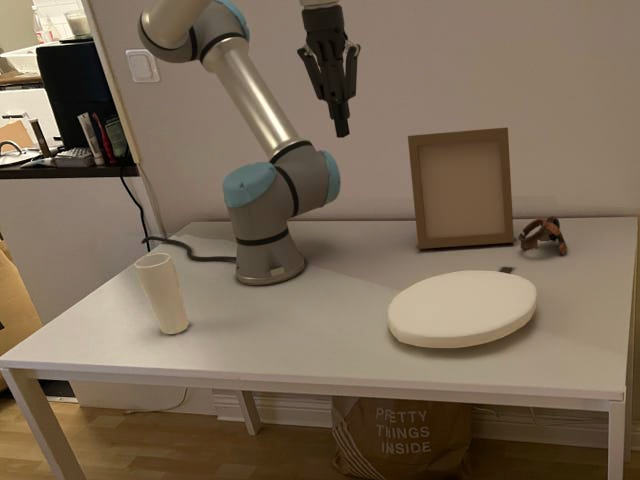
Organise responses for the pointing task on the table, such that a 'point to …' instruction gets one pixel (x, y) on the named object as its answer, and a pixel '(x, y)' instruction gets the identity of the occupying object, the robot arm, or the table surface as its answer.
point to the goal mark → (506, 270)
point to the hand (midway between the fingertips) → (343, 135)
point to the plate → (461, 309)
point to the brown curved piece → (543, 234)
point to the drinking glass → (162, 291)
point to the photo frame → (462, 188)
